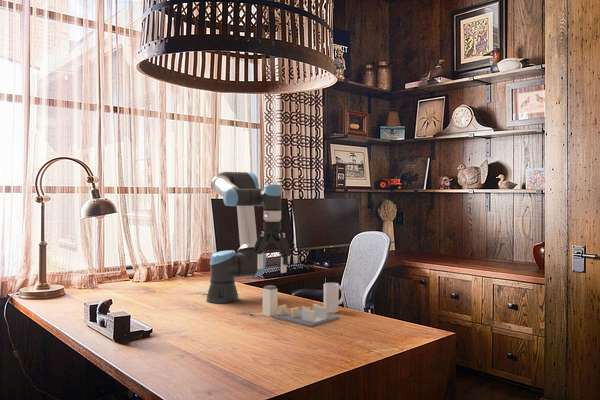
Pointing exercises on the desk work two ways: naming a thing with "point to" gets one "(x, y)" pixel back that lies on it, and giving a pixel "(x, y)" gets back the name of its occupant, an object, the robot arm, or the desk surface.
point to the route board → (305, 315)
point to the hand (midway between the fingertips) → (271, 270)
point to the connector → (269, 300)
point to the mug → (332, 297)
